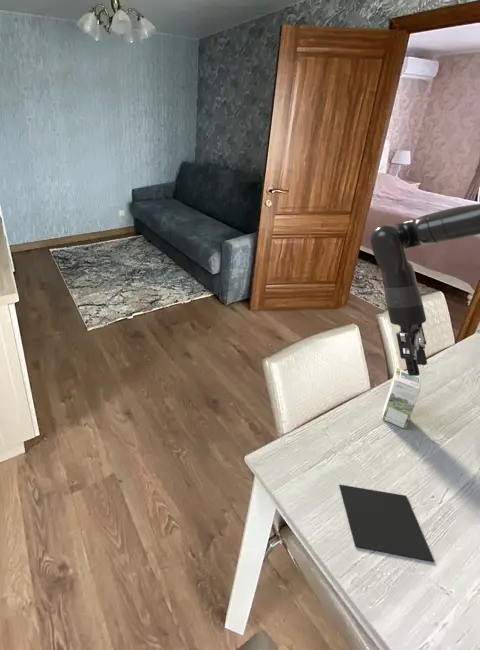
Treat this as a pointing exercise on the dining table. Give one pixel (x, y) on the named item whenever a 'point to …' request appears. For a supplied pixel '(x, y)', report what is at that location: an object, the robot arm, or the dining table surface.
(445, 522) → the dining table surface
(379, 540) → the plate
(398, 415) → the syrup box
